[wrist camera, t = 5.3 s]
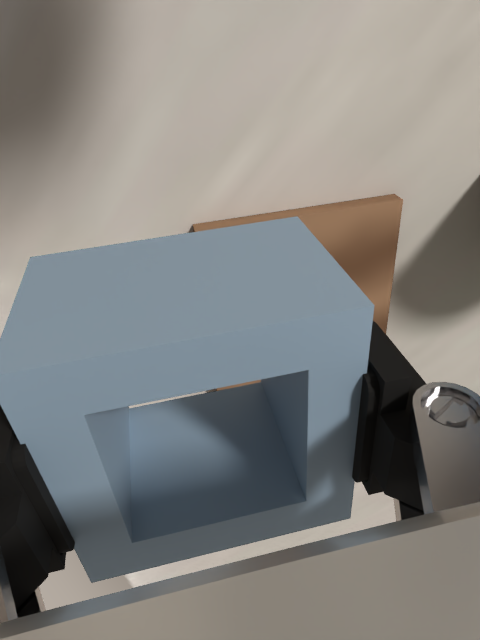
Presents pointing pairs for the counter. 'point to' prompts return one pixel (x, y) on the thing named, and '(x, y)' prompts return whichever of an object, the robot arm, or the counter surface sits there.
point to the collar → (188, 390)
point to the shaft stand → (348, 243)
